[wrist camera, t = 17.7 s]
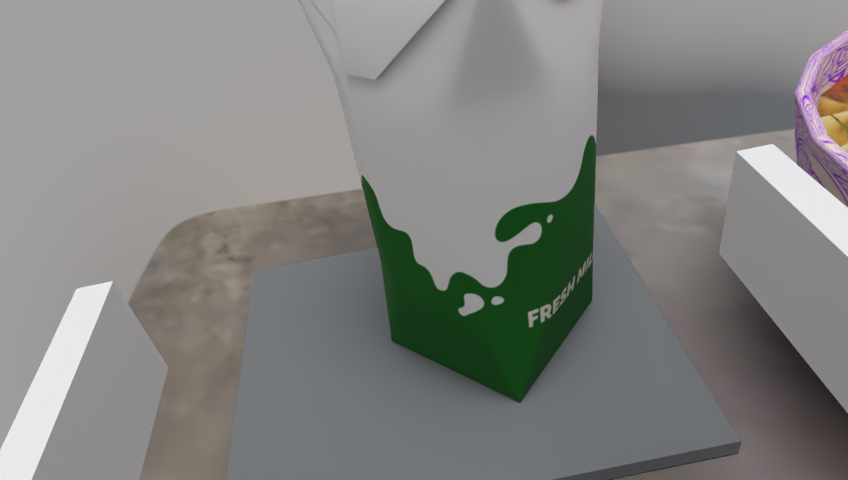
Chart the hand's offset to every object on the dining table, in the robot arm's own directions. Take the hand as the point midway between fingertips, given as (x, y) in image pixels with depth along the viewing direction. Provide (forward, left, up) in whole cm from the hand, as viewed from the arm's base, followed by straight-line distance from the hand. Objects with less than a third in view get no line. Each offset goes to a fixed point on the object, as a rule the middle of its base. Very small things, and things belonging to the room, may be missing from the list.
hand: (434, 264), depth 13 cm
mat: (0, -10, -14) cm, 17 cm away
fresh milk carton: (-2, -11, -14) cm, 17 cm away
